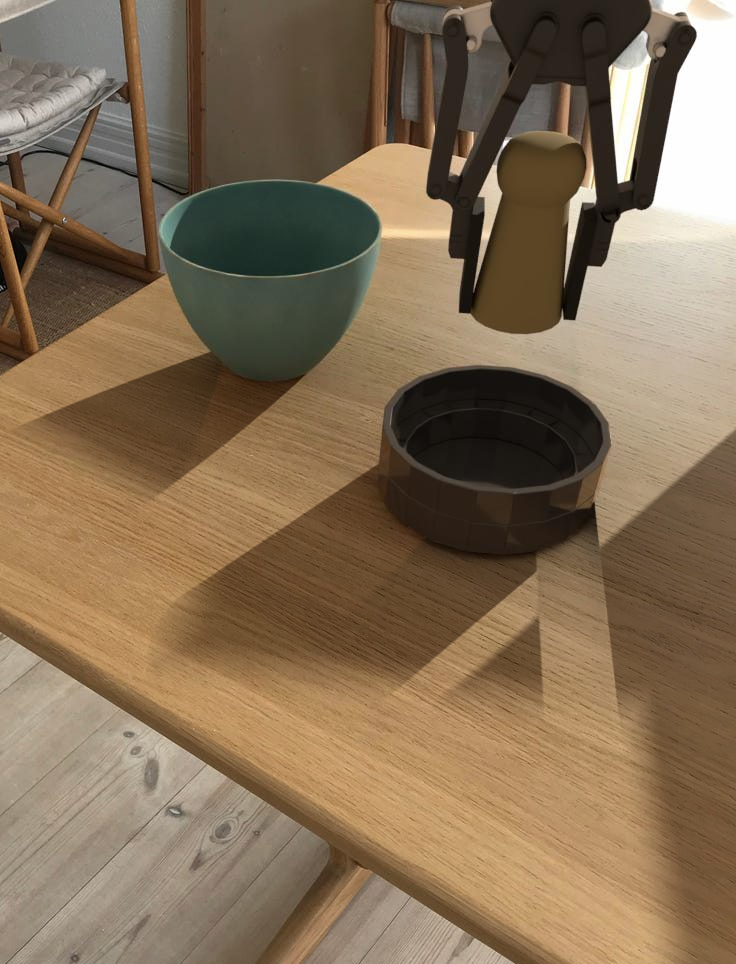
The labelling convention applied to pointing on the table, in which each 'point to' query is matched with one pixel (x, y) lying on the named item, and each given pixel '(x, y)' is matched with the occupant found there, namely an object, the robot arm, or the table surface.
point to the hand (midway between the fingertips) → (516, 306)
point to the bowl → (492, 458)
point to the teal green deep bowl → (270, 271)
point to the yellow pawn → (529, 234)
